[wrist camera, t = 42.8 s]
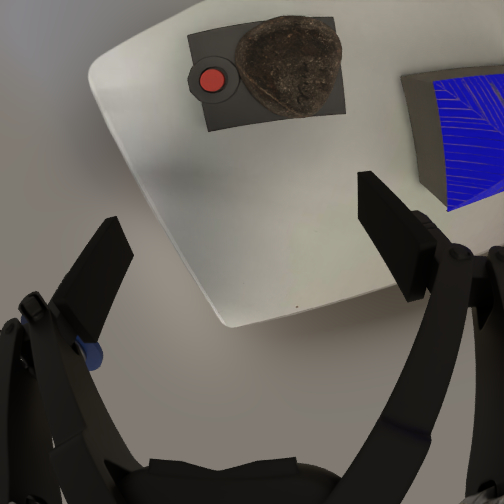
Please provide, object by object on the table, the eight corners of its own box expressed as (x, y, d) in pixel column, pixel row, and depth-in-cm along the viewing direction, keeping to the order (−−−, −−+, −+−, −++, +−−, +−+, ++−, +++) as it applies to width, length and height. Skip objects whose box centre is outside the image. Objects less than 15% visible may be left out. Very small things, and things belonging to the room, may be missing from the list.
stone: (353, 94, 28) (370, 99, 24) (270, 129, 31) (273, 139, 27) (311, 8, 23) (321, -1, 19) (222, 45, 25) (217, 40, 21)
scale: (204, 130, 33) (200, 136, 30) (184, 38, 26) (177, 35, 23) (341, 111, 31) (351, 116, 29) (329, 19, 24) (338, 14, 22)
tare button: (204, 92, 27) (202, 93, 26) (200, 71, 26) (197, 72, 25) (227, 87, 27) (225, 88, 26) (222, 67, 26) (221, 67, 25)
